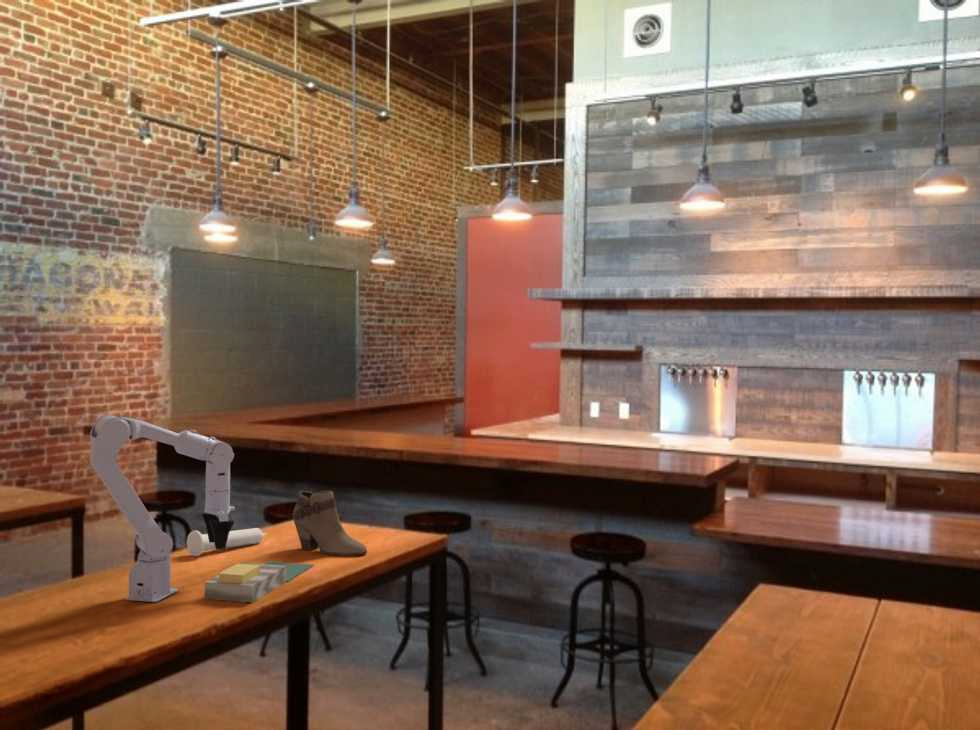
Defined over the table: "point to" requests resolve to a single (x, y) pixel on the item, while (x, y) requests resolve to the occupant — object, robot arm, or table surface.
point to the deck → (247, 585)
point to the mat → (291, 568)
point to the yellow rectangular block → (239, 573)
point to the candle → (235, 538)
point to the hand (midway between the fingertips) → (217, 545)
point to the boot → (323, 525)
